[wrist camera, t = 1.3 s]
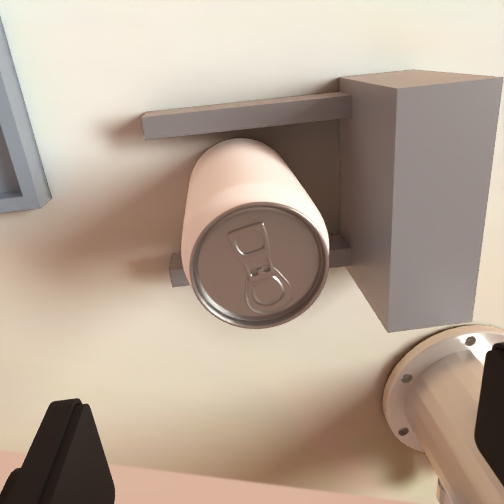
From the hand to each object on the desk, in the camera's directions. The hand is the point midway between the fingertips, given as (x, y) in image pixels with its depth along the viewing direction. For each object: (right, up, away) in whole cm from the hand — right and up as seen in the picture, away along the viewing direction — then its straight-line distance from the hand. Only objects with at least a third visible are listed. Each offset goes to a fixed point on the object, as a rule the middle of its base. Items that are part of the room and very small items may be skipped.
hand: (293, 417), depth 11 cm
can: (-2, +8, +18) cm, 20 cm away
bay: (+1, +8, +18) cm, 20 cm away
